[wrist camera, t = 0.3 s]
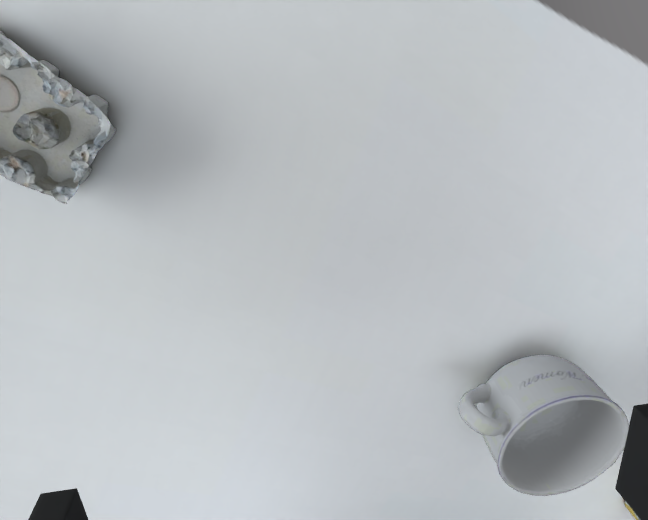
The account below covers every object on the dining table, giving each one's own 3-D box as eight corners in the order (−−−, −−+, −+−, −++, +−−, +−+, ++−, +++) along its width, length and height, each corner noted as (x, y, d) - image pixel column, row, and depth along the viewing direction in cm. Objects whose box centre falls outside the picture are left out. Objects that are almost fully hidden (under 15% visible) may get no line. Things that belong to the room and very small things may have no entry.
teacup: (596, 367, 47) (658, 427, 40) (522, 448, 50) (567, 517, 43) (487, 305, 43) (533, 359, 36) (413, 397, 46) (442, 464, 39)
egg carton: (-83, 99, 32) (-129, 107, 28) (-24, -2, 30) (-65, -8, 26) (74, 201, 35) (52, 220, 32) (134, 117, 34) (118, 126, 30)
